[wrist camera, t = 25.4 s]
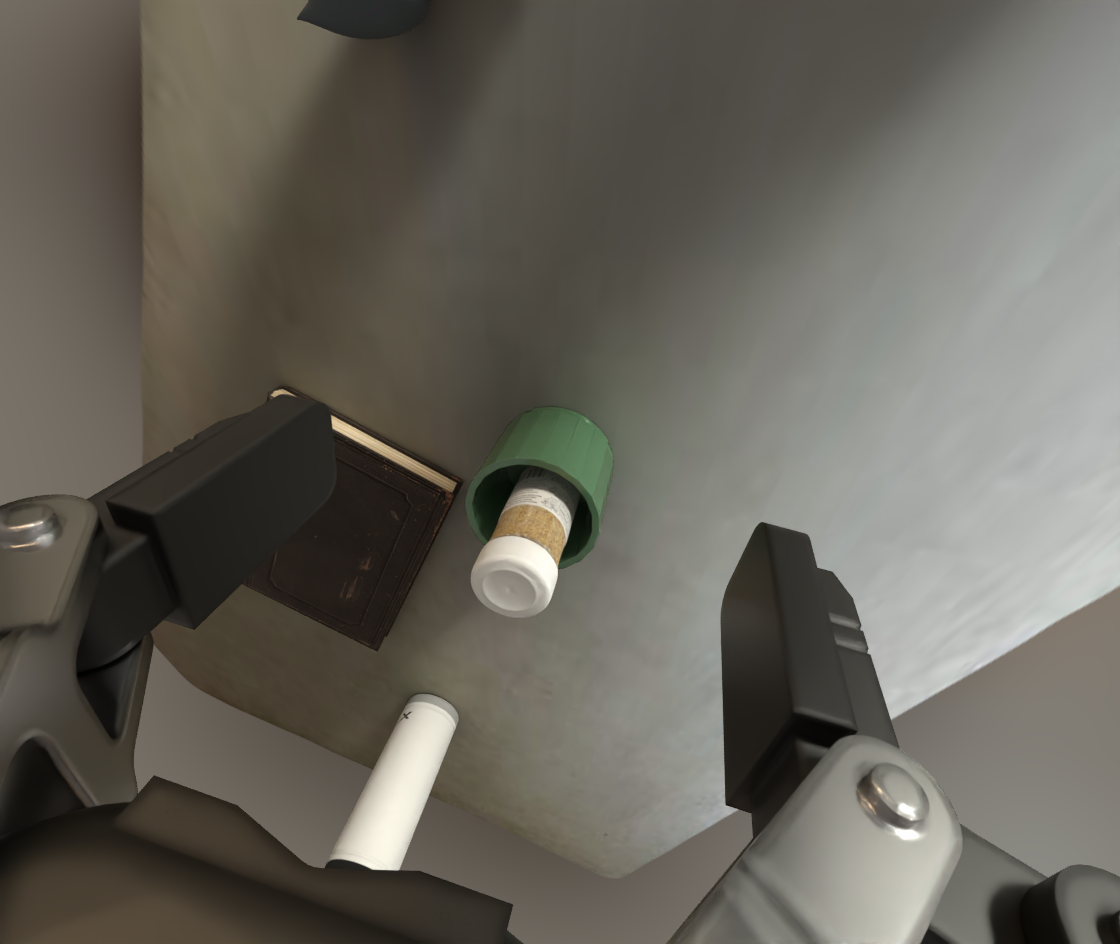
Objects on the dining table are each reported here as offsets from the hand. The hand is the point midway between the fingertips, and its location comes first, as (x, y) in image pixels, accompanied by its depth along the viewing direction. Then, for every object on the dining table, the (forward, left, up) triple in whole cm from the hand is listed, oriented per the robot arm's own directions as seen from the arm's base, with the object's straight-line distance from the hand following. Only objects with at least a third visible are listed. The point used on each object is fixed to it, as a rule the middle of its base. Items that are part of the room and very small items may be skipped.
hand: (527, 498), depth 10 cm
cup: (+10, +12, -26) cm, 30 cm away
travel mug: (+36, +40, -26) cm, 60 cm away
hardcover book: (+32, +14, -26) cm, 43 cm away
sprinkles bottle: (+9, +12, -26) cm, 30 cm away
